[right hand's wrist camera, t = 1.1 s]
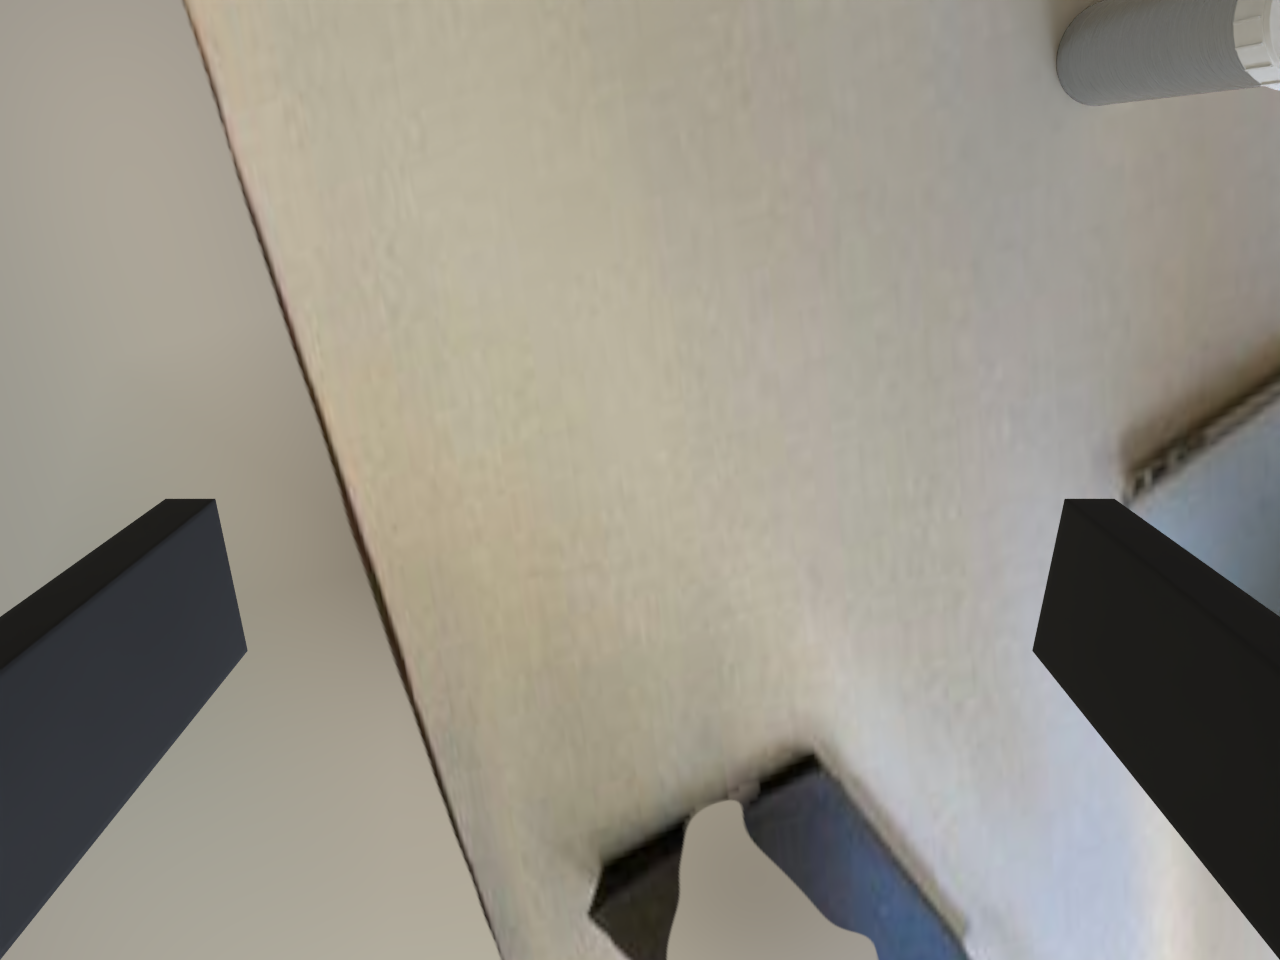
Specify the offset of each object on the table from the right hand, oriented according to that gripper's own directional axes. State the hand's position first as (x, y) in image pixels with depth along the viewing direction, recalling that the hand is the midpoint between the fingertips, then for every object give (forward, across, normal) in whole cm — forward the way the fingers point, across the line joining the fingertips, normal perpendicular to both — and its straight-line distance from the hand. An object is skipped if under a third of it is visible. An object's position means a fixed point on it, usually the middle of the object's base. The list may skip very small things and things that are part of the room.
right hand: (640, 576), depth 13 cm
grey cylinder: (+41, +27, +12) cm, 50 cm away
